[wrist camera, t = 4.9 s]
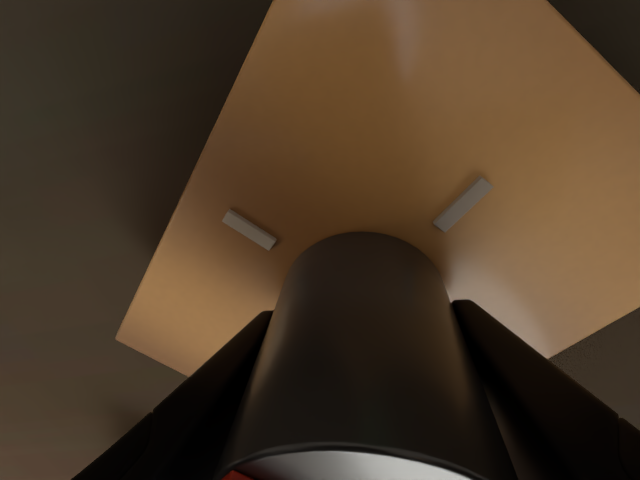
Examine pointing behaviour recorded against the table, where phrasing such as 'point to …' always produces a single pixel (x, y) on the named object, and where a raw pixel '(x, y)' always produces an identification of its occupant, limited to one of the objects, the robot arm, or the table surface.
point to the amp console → (409, 170)
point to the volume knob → (364, 376)
